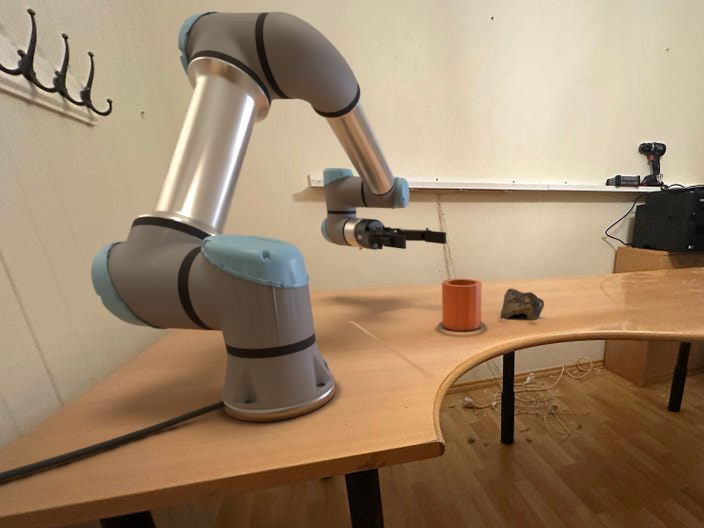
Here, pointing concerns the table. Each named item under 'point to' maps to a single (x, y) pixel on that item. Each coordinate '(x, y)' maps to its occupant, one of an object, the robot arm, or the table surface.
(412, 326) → the table surface
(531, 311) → the fossil
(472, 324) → the orange cylinder
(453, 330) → the ring stand
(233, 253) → the robot arm
